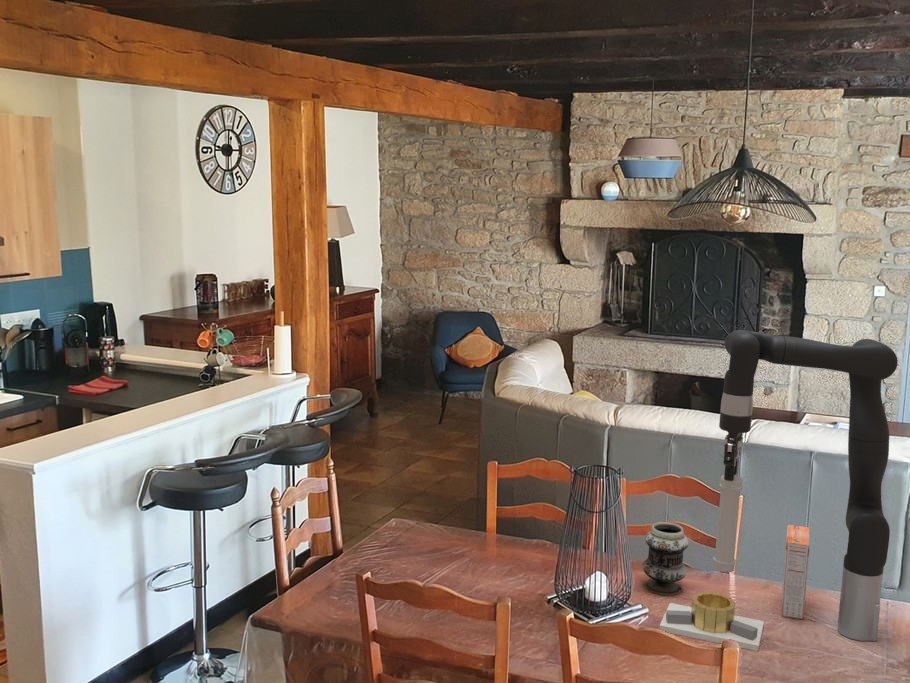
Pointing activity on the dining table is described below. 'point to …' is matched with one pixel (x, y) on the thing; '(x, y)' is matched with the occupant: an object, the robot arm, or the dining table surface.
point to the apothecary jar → (665, 558)
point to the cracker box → (795, 572)
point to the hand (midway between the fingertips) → (730, 476)
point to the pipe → (727, 524)
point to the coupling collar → (712, 612)
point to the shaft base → (740, 631)
